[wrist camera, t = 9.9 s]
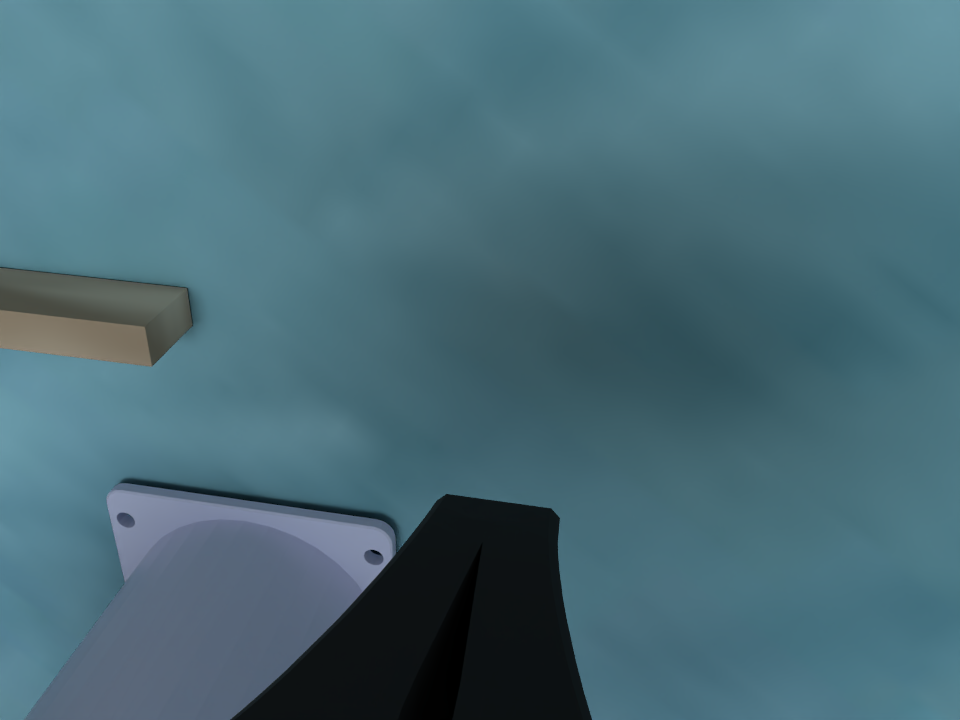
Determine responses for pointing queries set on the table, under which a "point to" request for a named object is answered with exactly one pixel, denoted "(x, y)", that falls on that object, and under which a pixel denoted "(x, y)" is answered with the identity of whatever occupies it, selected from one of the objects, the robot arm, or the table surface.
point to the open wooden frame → (90, 316)
